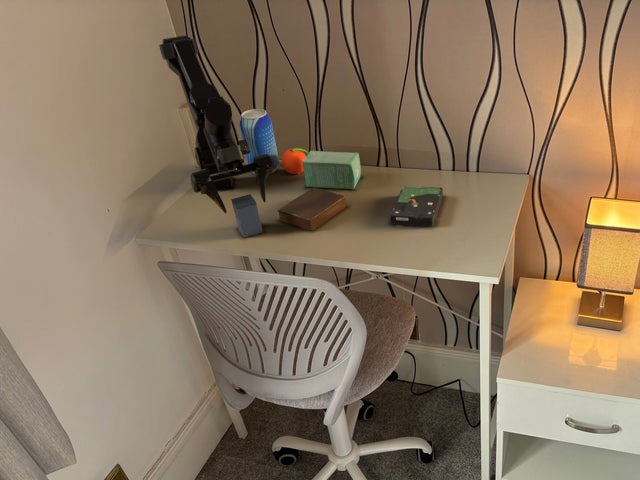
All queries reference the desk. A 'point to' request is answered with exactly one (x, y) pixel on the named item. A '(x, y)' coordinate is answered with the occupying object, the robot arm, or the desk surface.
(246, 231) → the small box
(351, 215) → the desk surface
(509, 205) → the desk surface
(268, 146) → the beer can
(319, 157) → the box
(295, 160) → the clementine
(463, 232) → the desk surface
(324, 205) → the brown flat block
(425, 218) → the disk drive
